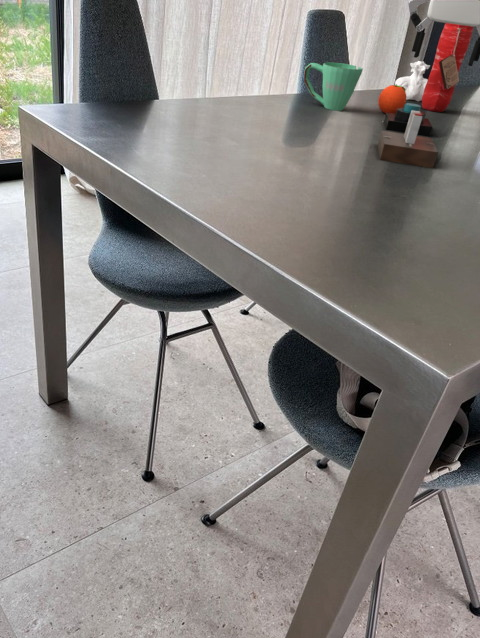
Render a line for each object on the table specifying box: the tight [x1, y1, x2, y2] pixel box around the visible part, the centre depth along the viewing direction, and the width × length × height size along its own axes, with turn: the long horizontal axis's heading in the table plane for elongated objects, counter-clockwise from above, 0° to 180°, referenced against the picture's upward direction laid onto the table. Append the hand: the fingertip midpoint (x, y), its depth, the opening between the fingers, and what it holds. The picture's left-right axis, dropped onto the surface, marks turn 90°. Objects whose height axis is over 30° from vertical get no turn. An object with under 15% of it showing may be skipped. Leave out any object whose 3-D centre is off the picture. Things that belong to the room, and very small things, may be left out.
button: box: [403, 102, 422, 113], centre depth 133 cm, size 4×4×2 cm
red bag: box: [421, 23, 474, 113], centre depth 152 cm, size 12×8×25 cm, turn 163°
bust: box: [394, 60, 431, 102], centre depth 171 cm, size 12×8×11 cm
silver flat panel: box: [403, 110, 422, 144], centre depth 110 cm, size 6×2×5 cm, turn 167°
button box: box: [383, 107, 434, 138], centre depth 134 cm, size 10×10×4 cm
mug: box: [303, 61, 364, 112], centre depth 145 cm, size 15×10×10 cm
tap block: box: [377, 130, 439, 169], centre depth 112 cm, size 10×12×3 cm
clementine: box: [377, 84, 407, 115], centre depth 147 cm, size 8×7×7 cm
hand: (442, 61), depth 104 cm, fingers open, 9 cm apart
